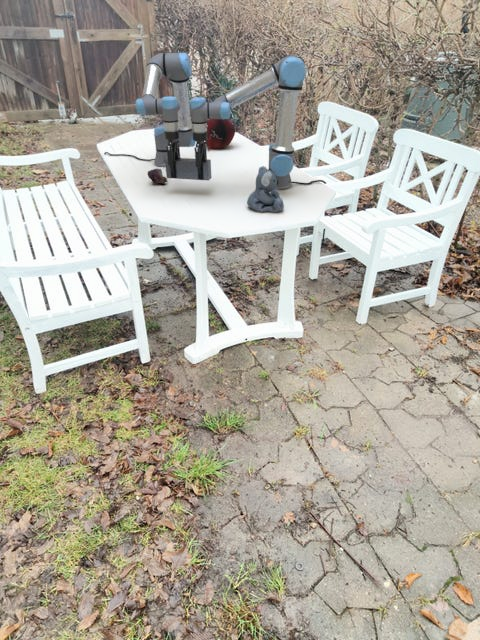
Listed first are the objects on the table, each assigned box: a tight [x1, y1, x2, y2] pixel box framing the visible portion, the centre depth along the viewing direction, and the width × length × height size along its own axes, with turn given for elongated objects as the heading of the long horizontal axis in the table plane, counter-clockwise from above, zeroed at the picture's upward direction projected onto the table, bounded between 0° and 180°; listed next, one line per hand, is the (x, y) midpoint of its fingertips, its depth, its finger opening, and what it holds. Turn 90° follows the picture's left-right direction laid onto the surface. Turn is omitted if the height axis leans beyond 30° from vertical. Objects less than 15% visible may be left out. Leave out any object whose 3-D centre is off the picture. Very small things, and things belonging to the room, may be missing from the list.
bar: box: [165, 157, 212, 182], centre depth 239 cm, size 24×5×10 cm, turn 77°
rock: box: [147, 168, 168, 185], centre depth 259 cm, size 12×9×10 cm
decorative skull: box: [204, 119, 236, 152], centre depth 325 cm, size 21×24×25 cm
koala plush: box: [246, 165, 285, 213], centre depth 222 cm, size 17×18×20 cm
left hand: (175, 176), depth 243 cm, fingers closed on bar, 5 cm apart
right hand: (202, 177), depth 240 cm, fingers closed on bar, 5 cm apart
